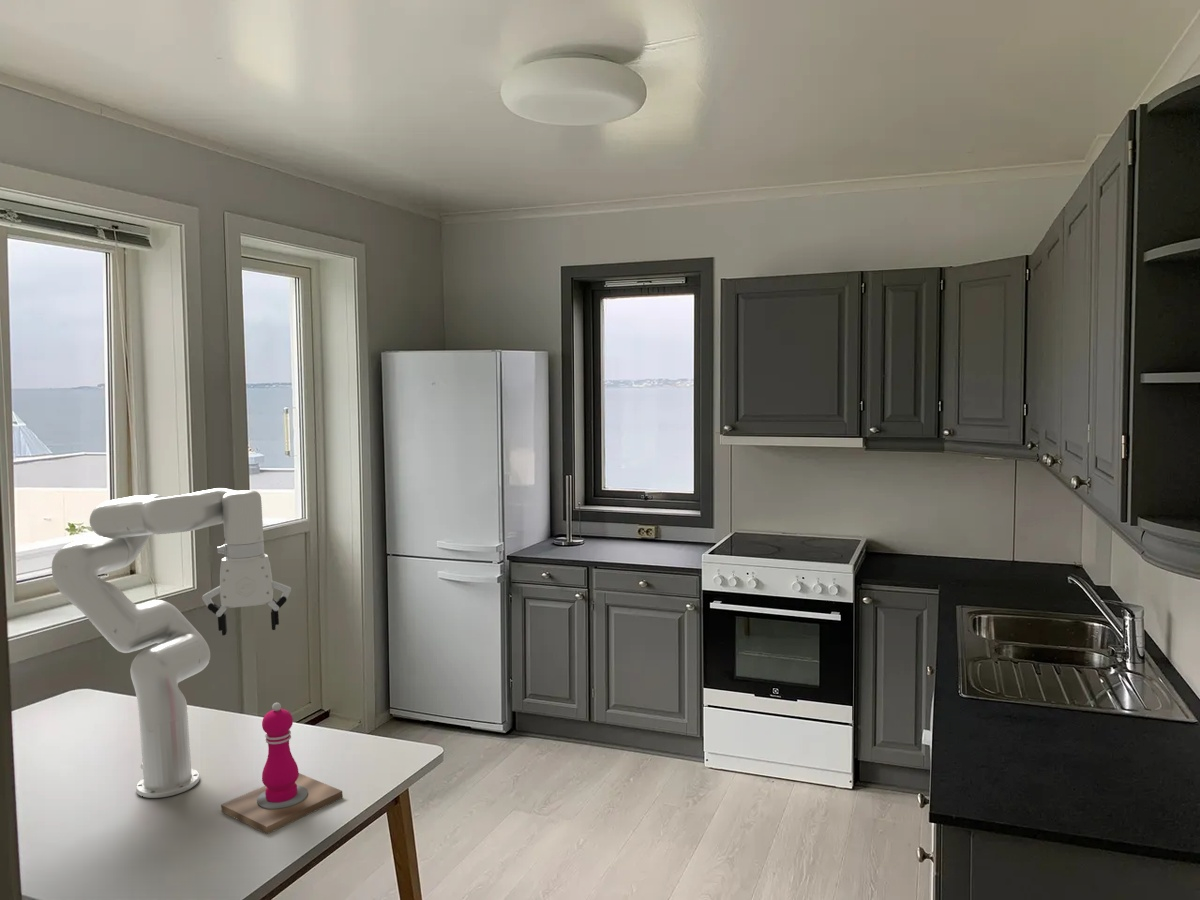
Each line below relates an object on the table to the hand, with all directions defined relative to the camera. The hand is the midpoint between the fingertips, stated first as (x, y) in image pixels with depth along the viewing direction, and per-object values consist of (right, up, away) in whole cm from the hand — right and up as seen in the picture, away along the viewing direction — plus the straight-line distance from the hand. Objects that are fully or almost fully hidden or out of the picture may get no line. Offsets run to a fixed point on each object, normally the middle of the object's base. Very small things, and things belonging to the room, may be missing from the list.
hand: (249, 630), depth 188 cm
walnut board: (+7, -36, 0) cm, 37 cm away
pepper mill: (+7, -35, 0) cm, 35 cm away
